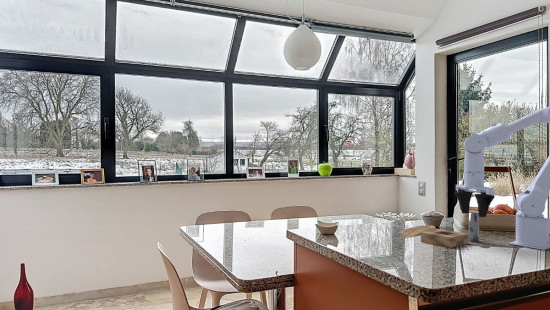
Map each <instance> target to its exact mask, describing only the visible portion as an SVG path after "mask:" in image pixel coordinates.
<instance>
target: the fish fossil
mask: <svg viewBox="0 0 550 310" xmlns="http://www.w3.org/2000/svg"><path fill="white" fill-rule="evenodd" d="M436 229H437V227H436V226H435V225H417V226H412V227H408V228H405V229H403V230H400V231H399V232H397V234H402V235H403V236H400V237H399V238H400V239H409V238H414V237H418V236H421V232H425V231H431V230H436Z"/></svg>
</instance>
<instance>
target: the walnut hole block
mask: <svg viewBox="0 0 550 310" xmlns="http://www.w3.org/2000/svg"><path fill="white" fill-rule="evenodd" d="M420 242H421V243H424V244H428V245H429V244H430V245H435V246H439V247H444V248H449V249H450V248H455V247H459V246H465V245H468V244H470V241H469V233H465V232H460V231H453V230H447V229H441V228H436V230H431V231H425V232H421V235H420Z"/></svg>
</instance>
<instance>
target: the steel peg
mask: <svg viewBox="0 0 550 310" xmlns="http://www.w3.org/2000/svg"><path fill="white" fill-rule="evenodd" d="M468 234H469V242H472V243H479V242H480V217H479V214H478V212H473V211H469V213H468Z"/></svg>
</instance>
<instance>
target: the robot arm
mask: <svg viewBox="0 0 550 310" xmlns="http://www.w3.org/2000/svg"><path fill="white" fill-rule="evenodd" d="M539 123H540V124H548V123H550V106H547V107H544V108H540V109H538V110H536V111H534V112H531V113H529V114H527V115H525V116H523V117H520V118H518V119H516V120H514V121H512V122H510V123H507V124H506V123H502V122H499V123H497V122H495V123H492V124H491V125H490V127H488V128H485V129H483V130H477V131H476V132H475V133H473V134H471V135H469V136H467V138H465V140H464V143H463V148H464V159H463V160H464V162H463V163H464V164H463V169H464V170H463V171H464V172H463V184H455V191H454V195H455V196H456V199H457V201H458V203H459V207H460V211H461V213H462V214H463V215H464V214H469V212H470V206H471V199H472V196H473V193H475V194H474V197H475V200H476V203H477V211H478V212H477V213H478V214H479V218H486V217H487V215H488V212H489V208H490V206H491V203H492V202H493V200H494V199H495V188H494V187H489V186H488V187H487V186H485V158H484V150H485V148H491V147H494V146H497V145H499V144H500V143H503V142H506V141H508V140H509V139H510V137H511V136H512V134H513V133H516V132H518V131H521V130H523V129H526V128H528V127H531V126H533V125H536V124H539ZM549 195H550V154H549V155H548V157H547V159H546V160H545V162H544V163H543V165H542V166H541V168H540V170H539V171H538V173H537V174H536V176H535V177H534V179H533V180H532V182H531V183H530V184H529V185H528V187H526V189H525V190H524V191H523V192H522V193H519V194H518V195H517V197H516V198H515V207H516V208H517V209H518V210H517V212H516V213H515V240H514V241H511V242H509V244H510V245H513V246H519V247H525V248H531V249H537V250H543V251H546V250H548V249H550V218H548V217H545V214H543V213H544V212H545V209H546V202H547V200H548V199H549Z"/></svg>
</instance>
